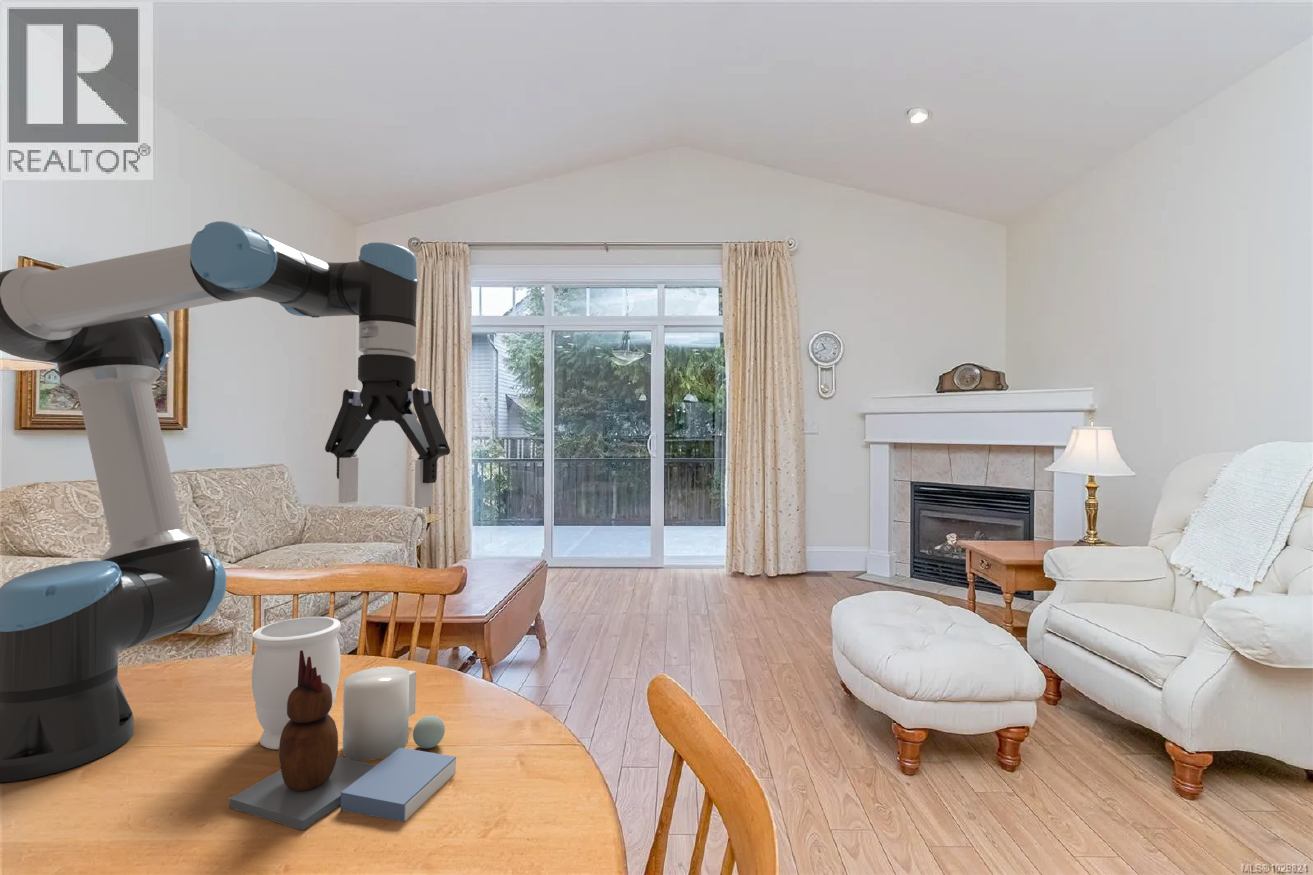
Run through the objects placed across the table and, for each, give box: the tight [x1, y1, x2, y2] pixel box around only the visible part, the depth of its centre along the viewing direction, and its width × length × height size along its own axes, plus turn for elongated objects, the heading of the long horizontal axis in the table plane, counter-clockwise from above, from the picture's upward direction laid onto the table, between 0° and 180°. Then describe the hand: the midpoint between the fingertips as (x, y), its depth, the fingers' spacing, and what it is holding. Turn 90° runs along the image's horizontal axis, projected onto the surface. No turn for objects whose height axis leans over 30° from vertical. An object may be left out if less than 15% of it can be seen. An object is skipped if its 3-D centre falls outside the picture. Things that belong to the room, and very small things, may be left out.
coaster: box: [228, 755, 377, 831], centre depth 70 cm, size 11×11×1 cm
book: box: [340, 747, 457, 823], centre depth 70 cm, size 8×10×2 cm
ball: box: [412, 715, 446, 750], centre depth 80 cm, size 4×4×4 cm
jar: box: [251, 616, 342, 750], centre depth 82 cm, size 11×10×15 cm
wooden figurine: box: [278, 650, 339, 791], centre depth 69 cm, size 7×6×15 cm
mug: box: [342, 665, 417, 762], centre depth 82 cm, size 8×11×9 cm
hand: (384, 504), depth 85 cm, fingers open, 13 cm apart
